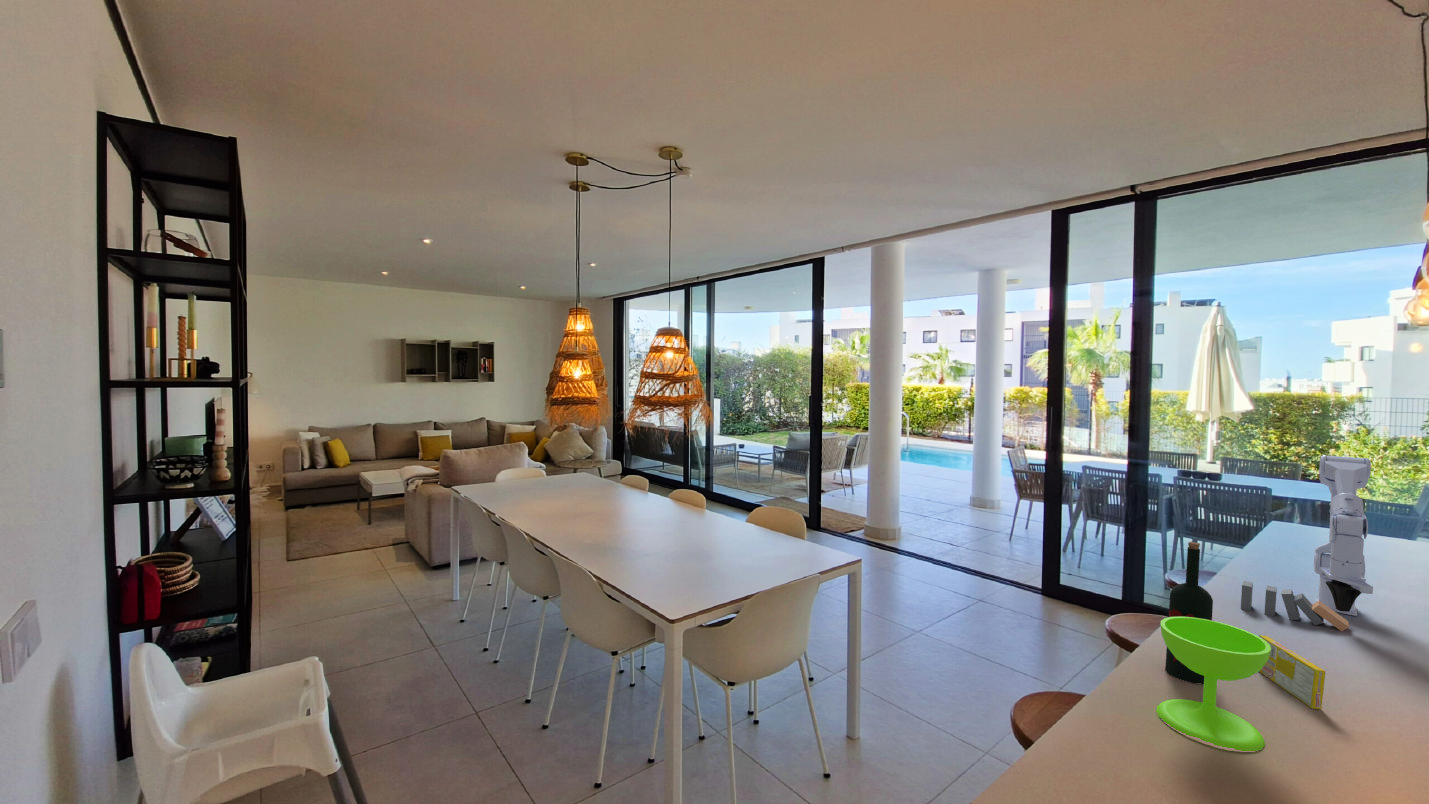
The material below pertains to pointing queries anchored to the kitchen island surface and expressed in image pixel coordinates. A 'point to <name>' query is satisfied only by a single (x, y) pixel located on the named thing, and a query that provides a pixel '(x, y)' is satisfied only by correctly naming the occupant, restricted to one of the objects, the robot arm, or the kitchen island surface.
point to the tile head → (1330, 615)
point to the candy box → (1294, 674)
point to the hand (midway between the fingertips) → (1342, 610)
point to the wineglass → (1213, 678)
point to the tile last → (1246, 595)
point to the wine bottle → (1188, 610)
